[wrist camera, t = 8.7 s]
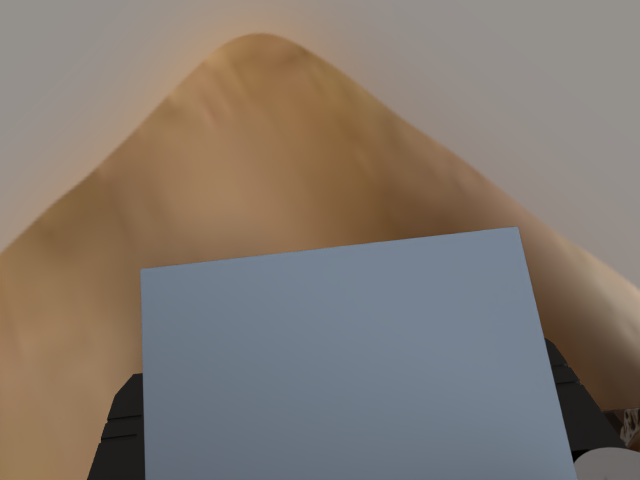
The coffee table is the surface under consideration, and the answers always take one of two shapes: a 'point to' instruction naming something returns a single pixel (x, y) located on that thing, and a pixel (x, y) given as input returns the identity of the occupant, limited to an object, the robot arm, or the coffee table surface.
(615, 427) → the coffee box
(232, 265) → the slate pillar
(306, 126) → the coffee table surface
